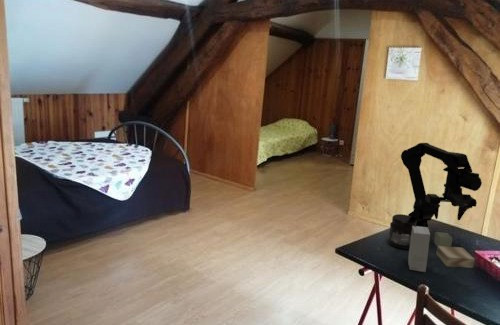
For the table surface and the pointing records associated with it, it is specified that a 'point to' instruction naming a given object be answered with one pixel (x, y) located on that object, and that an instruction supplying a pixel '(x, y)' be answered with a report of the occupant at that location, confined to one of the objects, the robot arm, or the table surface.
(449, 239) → the sage cube
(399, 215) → the supplement container
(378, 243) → the table surface
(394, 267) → the table surface
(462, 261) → the birch block
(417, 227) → the skincare box
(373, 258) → the table surface
